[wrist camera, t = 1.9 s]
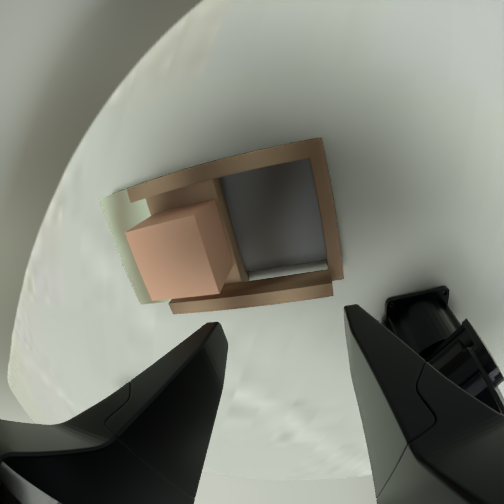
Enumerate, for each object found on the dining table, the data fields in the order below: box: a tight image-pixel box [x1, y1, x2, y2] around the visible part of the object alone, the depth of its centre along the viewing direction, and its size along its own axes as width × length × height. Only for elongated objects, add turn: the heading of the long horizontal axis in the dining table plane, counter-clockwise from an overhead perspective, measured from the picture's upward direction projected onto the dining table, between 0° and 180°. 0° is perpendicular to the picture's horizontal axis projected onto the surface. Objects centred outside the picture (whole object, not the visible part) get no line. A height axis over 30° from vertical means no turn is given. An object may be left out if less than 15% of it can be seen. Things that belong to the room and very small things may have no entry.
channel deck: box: [100, 138, 344, 314], centre depth 19 cm, size 18×10×4 cm, turn 104°
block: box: [125, 199, 233, 301], centre depth 18 cm, size 5×5×4 cm
